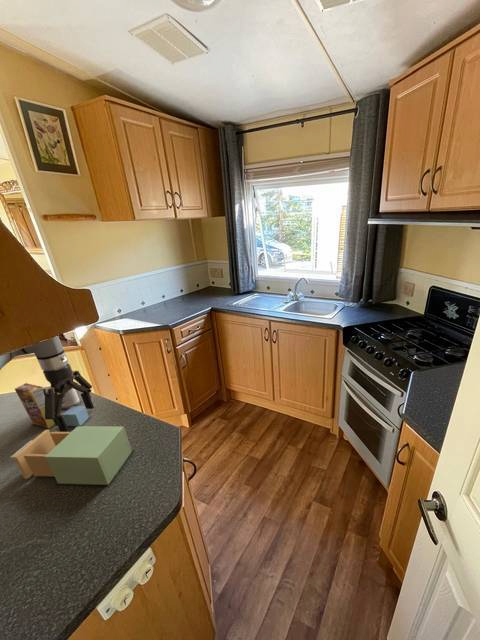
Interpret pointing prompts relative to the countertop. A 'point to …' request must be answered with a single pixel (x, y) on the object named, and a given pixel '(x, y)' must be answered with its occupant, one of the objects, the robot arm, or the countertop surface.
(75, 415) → the block
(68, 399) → the travel mug
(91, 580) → the countertop surface
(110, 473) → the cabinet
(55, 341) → the robot arm
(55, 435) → the drawer
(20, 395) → the candy box
